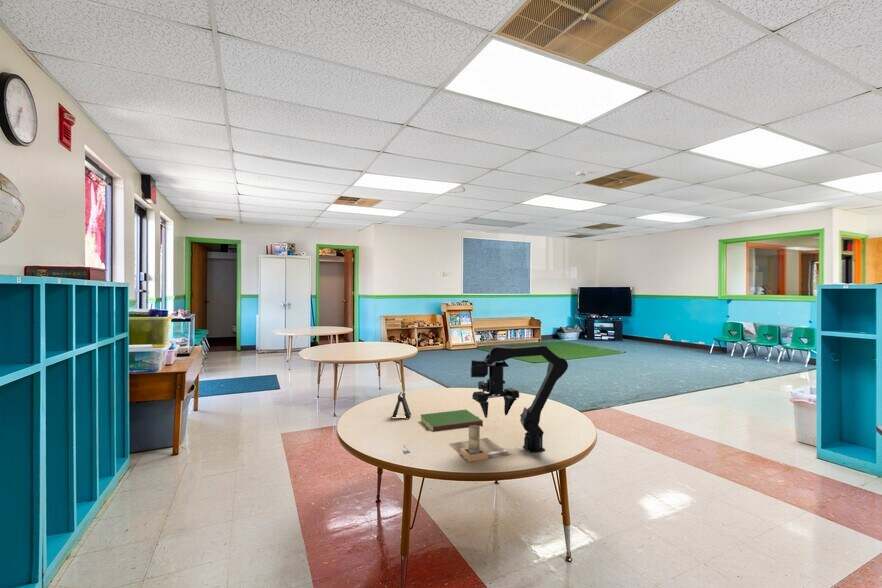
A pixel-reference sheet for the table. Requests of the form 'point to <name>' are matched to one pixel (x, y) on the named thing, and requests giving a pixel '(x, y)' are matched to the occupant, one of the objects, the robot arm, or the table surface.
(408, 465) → the table surface
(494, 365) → the robot arm
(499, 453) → the clear acrylic sheet
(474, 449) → the beige cylinder
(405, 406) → the black a-frame stand
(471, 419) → the hardcover book
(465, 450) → the socket
